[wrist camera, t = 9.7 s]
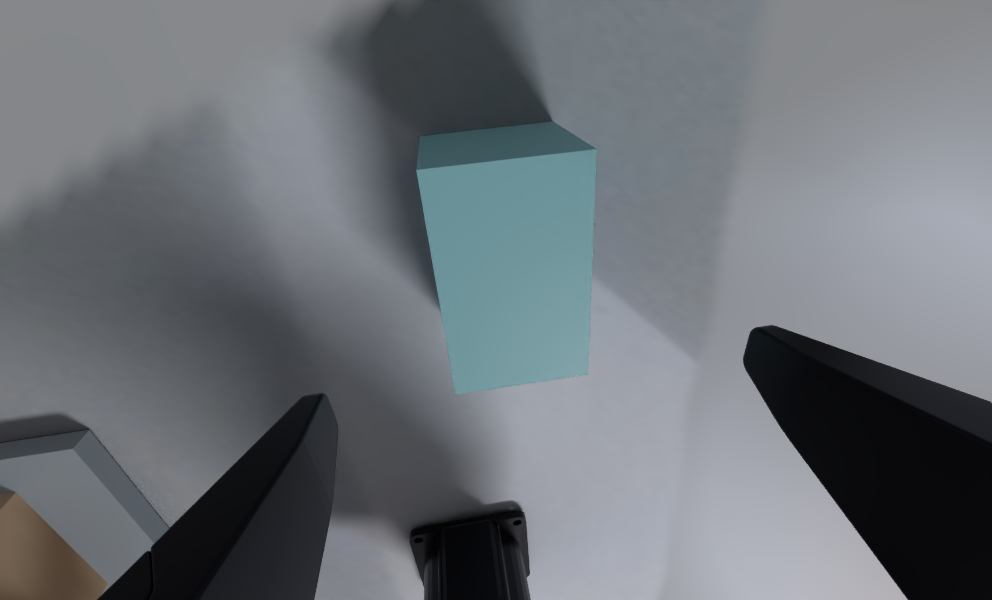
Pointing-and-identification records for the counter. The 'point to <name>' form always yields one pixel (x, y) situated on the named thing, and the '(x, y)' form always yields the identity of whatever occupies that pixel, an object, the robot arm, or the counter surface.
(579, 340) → the teal brick
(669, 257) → the counter surface
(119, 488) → the base plate
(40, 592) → the walnut brick
